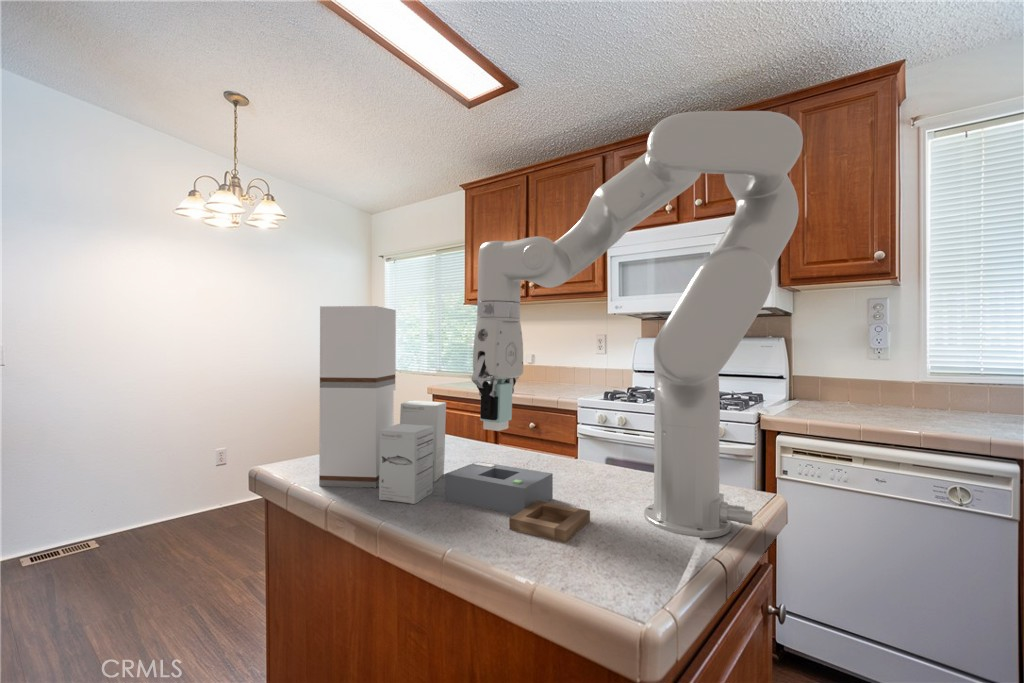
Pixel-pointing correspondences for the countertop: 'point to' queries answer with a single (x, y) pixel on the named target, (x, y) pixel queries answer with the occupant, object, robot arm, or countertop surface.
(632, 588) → the countertop surface
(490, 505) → the panel
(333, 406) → the white striped tall box
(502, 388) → the plug
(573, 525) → the square wooden tray
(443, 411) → the skincare box
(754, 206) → the robot arm
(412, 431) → the supplement box
